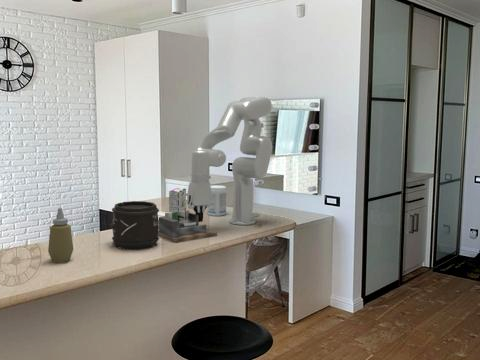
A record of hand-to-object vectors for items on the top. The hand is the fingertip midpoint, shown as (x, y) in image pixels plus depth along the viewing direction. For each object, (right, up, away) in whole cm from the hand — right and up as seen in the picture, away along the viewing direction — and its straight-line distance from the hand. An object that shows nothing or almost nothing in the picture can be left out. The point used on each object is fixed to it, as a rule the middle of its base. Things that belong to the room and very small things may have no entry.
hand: (199, 221), depth 203 cm
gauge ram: (-6, -4, -2) cm, 7 cm away
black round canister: (-24, -7, -20) cm, 32 cm away
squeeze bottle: (-43, -10, -43) cm, 62 cm away
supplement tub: (+5, 0, +42) cm, 42 cm away
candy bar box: (-12, -3, +17) cm, 21 cm away
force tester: (-5, -6, -4) cm, 9 cm away
